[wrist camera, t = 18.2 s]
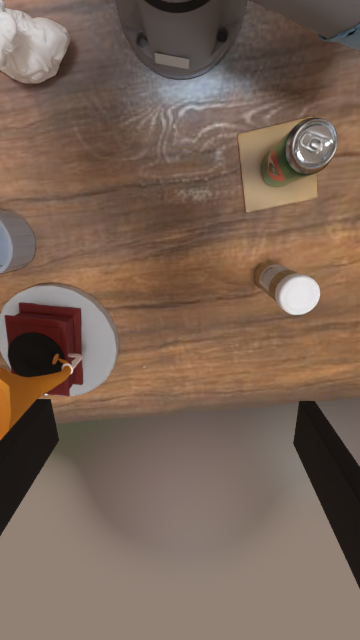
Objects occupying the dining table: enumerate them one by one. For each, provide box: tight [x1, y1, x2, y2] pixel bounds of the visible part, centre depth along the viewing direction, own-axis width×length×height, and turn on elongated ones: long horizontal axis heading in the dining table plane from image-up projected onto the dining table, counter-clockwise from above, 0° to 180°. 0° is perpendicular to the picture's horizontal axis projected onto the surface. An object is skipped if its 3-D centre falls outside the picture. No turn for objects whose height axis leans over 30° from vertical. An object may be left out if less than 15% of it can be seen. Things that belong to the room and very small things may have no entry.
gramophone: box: [0, 283, 120, 440], centre depth 37 cm, size 20×20×25 cm
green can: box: [261, 118, 338, 187], centre depth 32 cm, size 5×5×12 cm
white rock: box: [0, 0, 70, 84], centre depth 31 cm, size 12×8×11 cm
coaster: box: [237, 116, 317, 213], centre depth 38 cm, size 10×10×1 cm
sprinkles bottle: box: [255, 261, 320, 315], centre depth 37 cm, size 5×5×14 cm
